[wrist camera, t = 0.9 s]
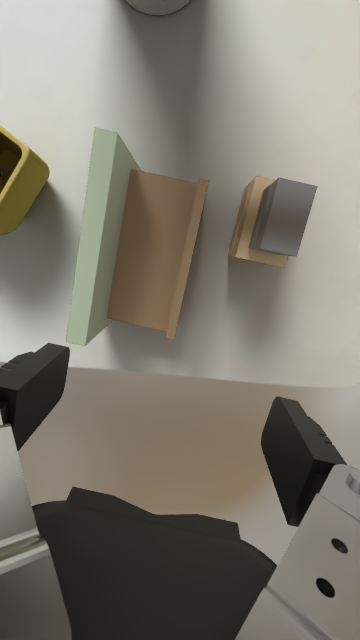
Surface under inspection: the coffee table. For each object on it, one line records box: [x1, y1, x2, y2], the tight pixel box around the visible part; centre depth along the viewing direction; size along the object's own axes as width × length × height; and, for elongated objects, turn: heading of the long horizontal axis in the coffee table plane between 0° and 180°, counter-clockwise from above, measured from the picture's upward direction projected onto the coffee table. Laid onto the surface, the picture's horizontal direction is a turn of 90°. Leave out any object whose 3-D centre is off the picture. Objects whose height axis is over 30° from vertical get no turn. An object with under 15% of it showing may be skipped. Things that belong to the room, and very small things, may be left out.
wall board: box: [66, 128, 209, 346], centre depth 29 cm, size 16×9×11 cm, turn 168°
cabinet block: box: [228, 176, 317, 268], centre depth 28 cm, size 7×5×11 cm, turn 168°
